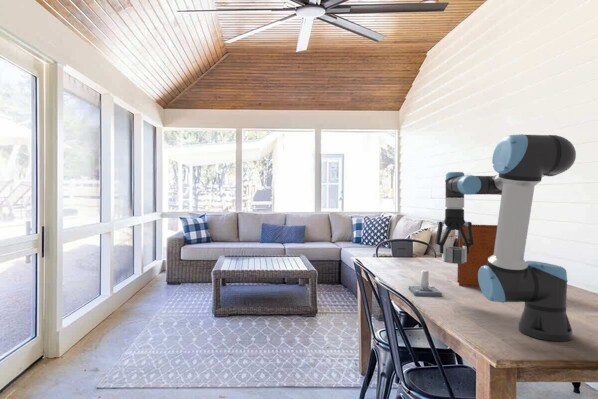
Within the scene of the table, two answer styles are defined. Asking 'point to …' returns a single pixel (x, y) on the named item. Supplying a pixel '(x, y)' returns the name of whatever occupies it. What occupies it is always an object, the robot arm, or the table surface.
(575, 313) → the table surface
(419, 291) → the shaft block
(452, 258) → the hub
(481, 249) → the book
